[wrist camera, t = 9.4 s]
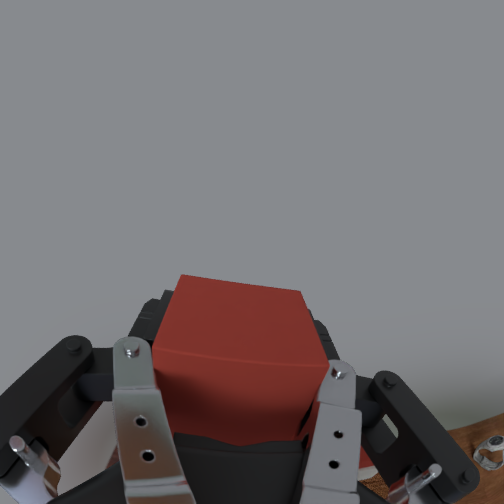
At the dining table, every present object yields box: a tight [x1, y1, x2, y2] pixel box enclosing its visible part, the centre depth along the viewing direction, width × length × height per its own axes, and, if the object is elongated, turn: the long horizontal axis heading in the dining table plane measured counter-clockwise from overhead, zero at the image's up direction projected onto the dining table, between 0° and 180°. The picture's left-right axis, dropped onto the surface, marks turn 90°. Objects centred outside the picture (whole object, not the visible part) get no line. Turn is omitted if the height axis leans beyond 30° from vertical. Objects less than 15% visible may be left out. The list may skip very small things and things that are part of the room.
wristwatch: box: [473, 435, 504, 471], centre depth 16 cm, size 4×6×5 cm, turn 27°
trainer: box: [152, 275, 378, 481], centre depth 11 cm, size 13×5×11 cm, turn 92°
